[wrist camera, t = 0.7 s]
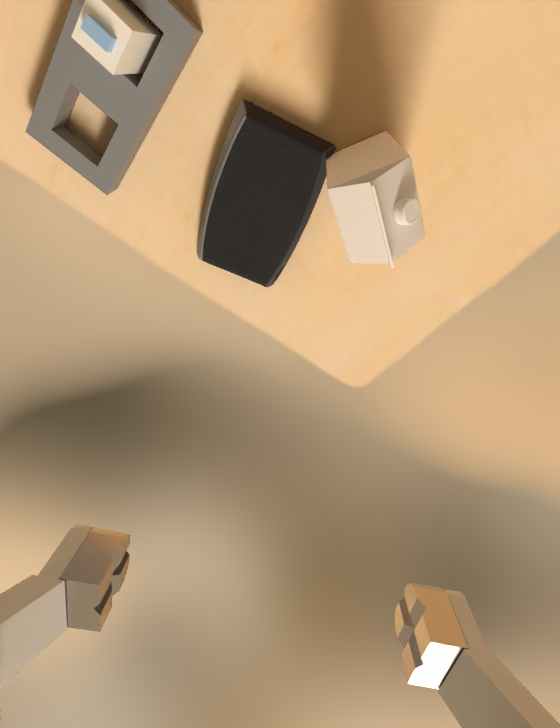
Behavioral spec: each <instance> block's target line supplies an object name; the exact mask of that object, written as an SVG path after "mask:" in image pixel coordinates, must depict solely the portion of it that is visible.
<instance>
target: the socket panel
mask: <svg viewBox="0 0 560 728" xmlns="http://www.w3.org/2000/svg"><path fill="white" fill-rule="evenodd" d="M131 1H132V2H133V3H134V4H135V5H136V6H137V7H138V8H139V9H140V10H141V11H142V12H143V13H144V14H145V15H146V16H147V17H148V18H149V19H150V20H151V21H152V22H153V23H154V24H155V25H156V26H157V27H158V28H159V29H160V30H161V31H162V32H163V33H164V34H163V36H162V38H161V40H160V42H159V44H158V46H157V48H156V50H155V52H154V54H153V56H152V58H151V60H150V62H149V64H148V66H147V68H146V70H145V72H144V74H143V76H142V78H141V80H140V79H139V78H138V77H137V76H136V75H135V74H119V75H112V74H111V73H110V72H109V71H108V70H107V69H106V68H105V67H104V66H103V65H101V64H100V63H99V62H98V61H97V60H96V59H95V58H94V57H93V56H92V55H90V54H89V53H88V52H87V51H86V50H85V49H84V48H83V47H82V46H81V45H79V44H78V43H77V42H76V41H75V40H74V39H73V38H72V34H73V31H74V29H75V26H76V23H77V21H78V18H79V15H80V12H81V10H82V7H83V4H84V2H85V0H73V1H72V3H71V6H70V9H69V12H68V14H67V17H66V20H65V23H64V26H63V28H62V31H61V34H60V37H59V40H58V42H57V45H56V48H55V51H54V54H53V56H52V59H51V62H50V65H49V68H48V70H47V73H46V76H45V79H44V82H43V84H42V87H41V90H40V93H39V96H38V98H37V101H36V104H35V107H34V110H33V112H32V115H31V118H30V121H29V124H28V126H27V129H26V132H27V133H28V134H29V135H31V136H32V137H33V138H34V139H36V140H37V141H38V142H39V143H41V144H42V145H43V146H45V147H46V148H47V149H48V150H50V151H51V152H52V153H54V154H55V155H56V156H57V157H59V158H60V159H61V160H63V161H64V162H65V163H66V164H68V165H69V166H70V167H72V168H73V169H74V170H75V171H77V172H78V173H79V174H81V175H82V176H83V177H84V178H86V179H87V180H88V181H89V182H91V183H92V184H93V185H95V186H96V187H97V188H98V189H100V190H101V191H102V192H104V193H105V194H106V195H108V194H109V193H111V192H113V191H114V190H116V189H117V188H118V186H119V184H120V183H121V181H122V179H123V177H124V175H125V173H126V172H127V170H128V168H129V166H130V164H131V163H132V161H133V159H134V157H135V155H136V153H137V152H138V150H139V148H140V146H141V144H142V142H143V141H144V139H145V137H146V135H147V133H148V132H149V130H150V128H151V126H152V124H153V122H154V121H155V119H156V117H157V115H158V113H159V111H160V110H161V108H162V106H163V104H164V102H165V101H166V99H167V97H168V95H169V93H170V91H171V90H172V88H173V86H174V84H175V82H176V80H177V79H178V77H179V75H180V73H181V71H182V70H183V68H184V66H185V64H186V62H187V60H188V59H189V57H190V55H191V53H192V51H193V49H194V48H195V46H196V44H197V42H198V40H199V38H200V37H201V35H202V33H203V32H202V30H201V29H200V28H199V27H198V26H197V25H196V24H195V23H194V22H193V21H192V20H191V19H190V18H189V17H188V16H187V15H186V14H185V13H184V12H183V10H182V9H181V8H180V7H179V6H178V5H177V4H176V3H175V2H174V1H173V0H131ZM79 92H81V93H82V94H83V95H84V96H86V97H87V98H88V99H89V100H90V101H91V102H93V103H94V104H95V105H96V106H97V107H98V108H100V109H101V110H102V111H103V112H104V113H105V114H106V115H108V116H109V117H110V118H111V119H112V120H113V121H115V122H116V123H117V124H118V127H117V129H116V131H115V133H114V135H113V137H112V139H111V141H110V143H109V145H108V147H107V149H106V151H105V153H104V155H103V157H102V156H101V155H100V154H99V153H97V152H96V151H95V150H94V149H93V148H91V147H90V146H89V145H88V144H86V143H85V142H84V141H83V140H82V139H80V138H79V137H78V136H77V135H75V134H74V133H73V132H72V131H71V130H69V129H68V128H67V127H66V124H67V121H68V119H69V116H70V114H71V112H72V109H73V107H74V104H75V102H76V99H77V97H78V95H79Z"/></svg>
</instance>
